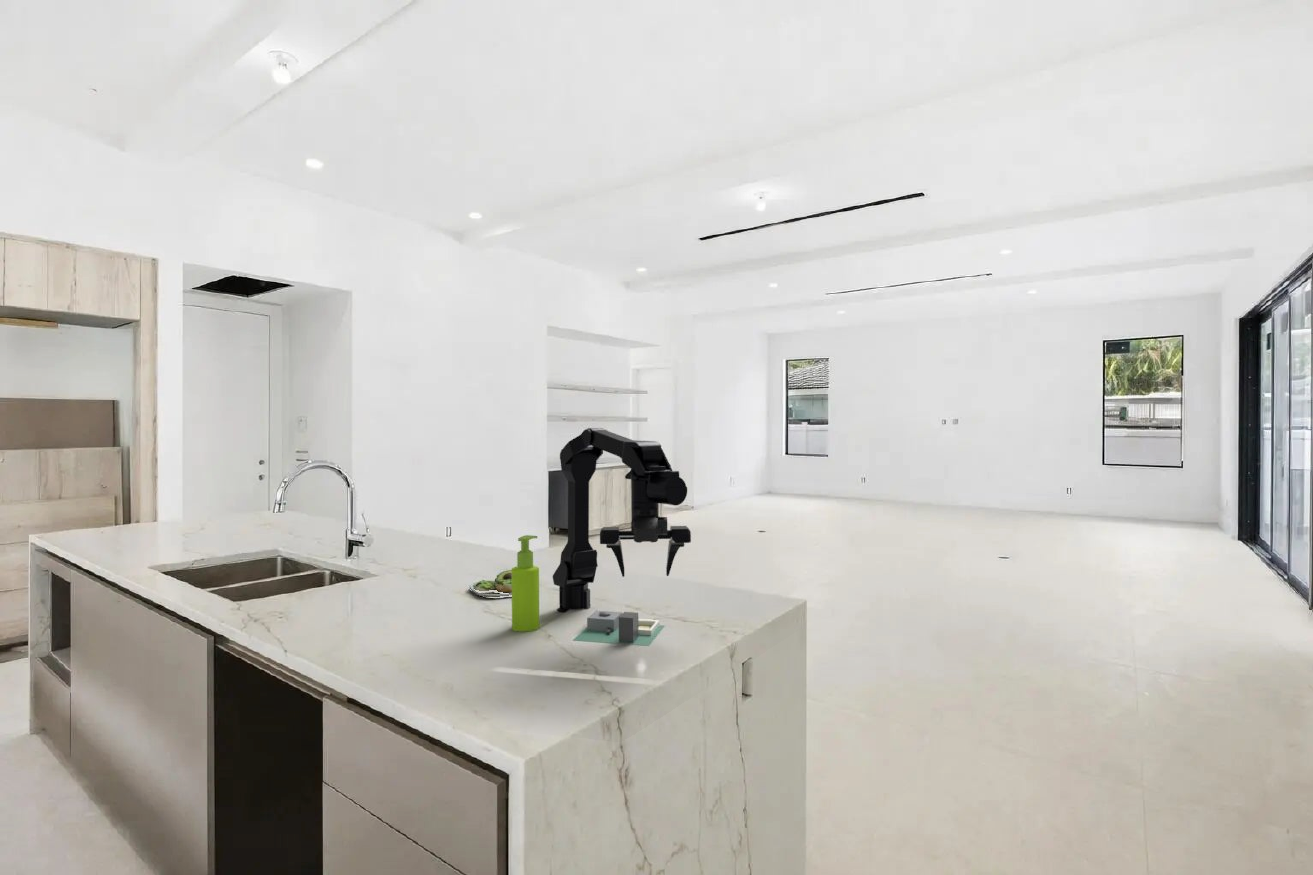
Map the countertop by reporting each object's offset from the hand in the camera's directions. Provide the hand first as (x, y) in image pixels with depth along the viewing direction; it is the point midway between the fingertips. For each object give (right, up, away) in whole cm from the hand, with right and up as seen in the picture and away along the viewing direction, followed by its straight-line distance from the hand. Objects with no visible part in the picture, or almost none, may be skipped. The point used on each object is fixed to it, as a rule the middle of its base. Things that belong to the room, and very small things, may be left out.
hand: (645, 576), depth 146 cm
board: (-5, -13, 0) cm, 14 cm away
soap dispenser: (-26, -13, +8) cm, 30 cm away
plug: (-3, -12, -4) cm, 13 cm away
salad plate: (-39, -13, +41) cm, 58 cm away
